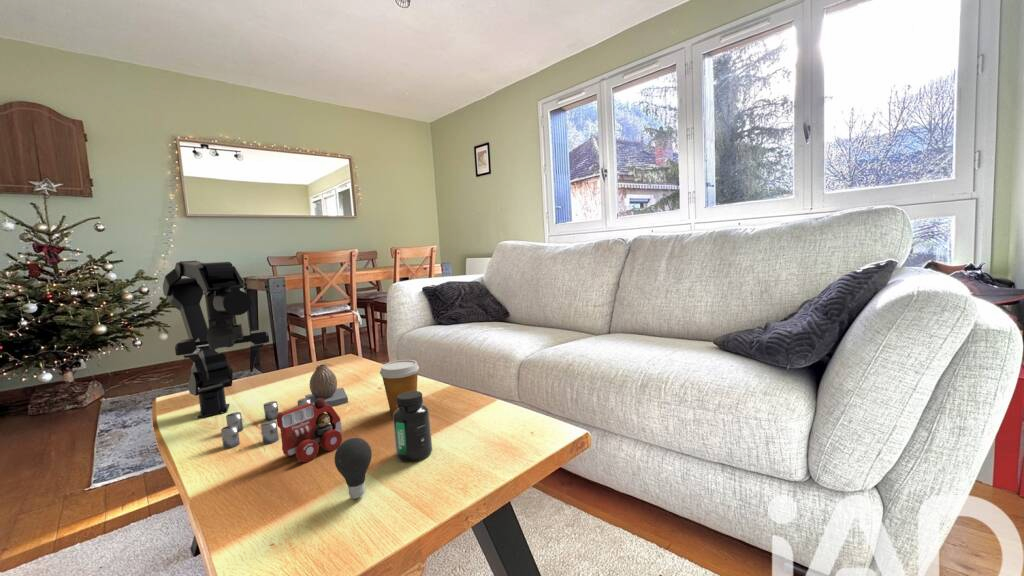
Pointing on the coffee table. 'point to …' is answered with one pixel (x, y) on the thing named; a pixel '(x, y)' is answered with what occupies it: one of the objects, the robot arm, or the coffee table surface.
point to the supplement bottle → (412, 427)
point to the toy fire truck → (309, 430)
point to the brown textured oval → (323, 382)
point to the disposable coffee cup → (399, 379)
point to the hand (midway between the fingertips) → (229, 375)
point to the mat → (332, 398)
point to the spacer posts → (267, 428)
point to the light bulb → (354, 464)
